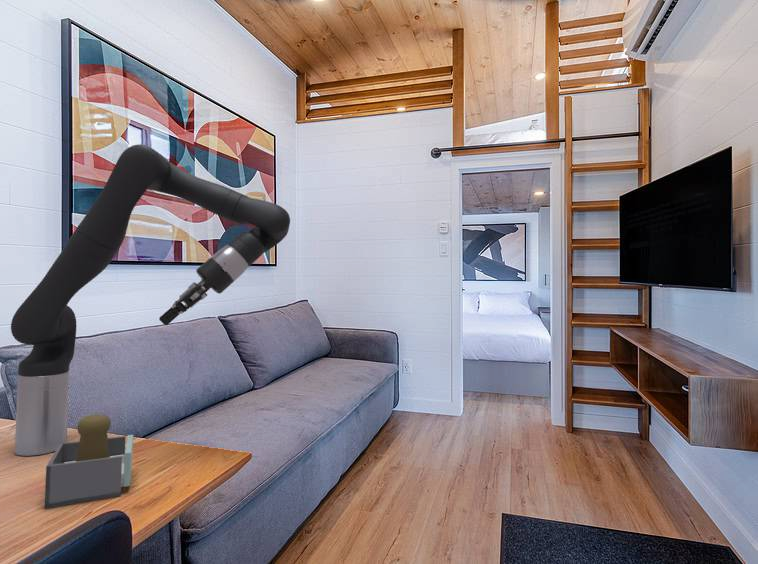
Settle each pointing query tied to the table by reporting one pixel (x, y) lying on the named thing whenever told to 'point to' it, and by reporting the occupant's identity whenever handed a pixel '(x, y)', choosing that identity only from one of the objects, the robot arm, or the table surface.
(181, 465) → the table surface
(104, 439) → the cork
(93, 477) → the box
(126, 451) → the drawer
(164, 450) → the table surface
